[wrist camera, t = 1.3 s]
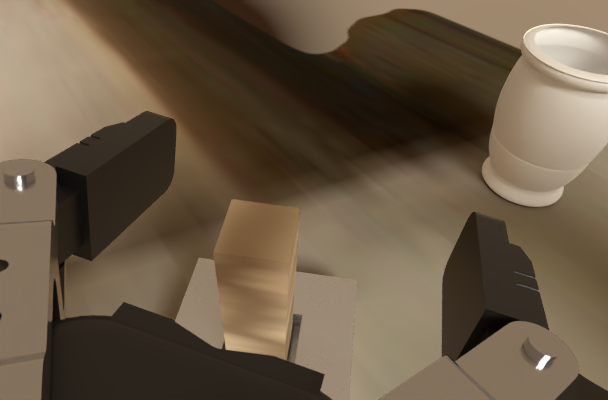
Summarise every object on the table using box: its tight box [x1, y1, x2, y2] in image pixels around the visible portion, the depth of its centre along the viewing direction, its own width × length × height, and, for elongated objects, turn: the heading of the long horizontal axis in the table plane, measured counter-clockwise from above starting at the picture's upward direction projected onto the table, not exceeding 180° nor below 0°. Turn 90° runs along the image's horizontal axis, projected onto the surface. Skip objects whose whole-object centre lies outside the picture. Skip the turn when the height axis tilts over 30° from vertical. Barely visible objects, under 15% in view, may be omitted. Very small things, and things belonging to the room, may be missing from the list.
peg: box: [213, 199, 300, 361], centre depth 28 cm, size 4×4×14 cm
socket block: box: [175, 258, 357, 400], centre depth 32 cm, size 12×12×4 cm
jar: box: [482, 24, 608, 207], centre depth 45 cm, size 11×10×15 cm
